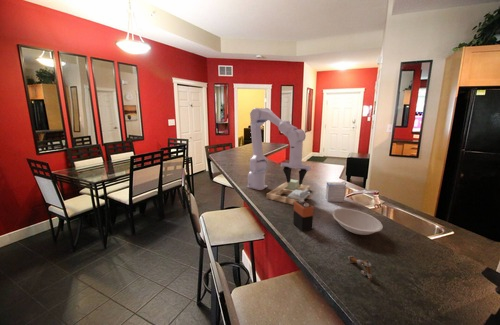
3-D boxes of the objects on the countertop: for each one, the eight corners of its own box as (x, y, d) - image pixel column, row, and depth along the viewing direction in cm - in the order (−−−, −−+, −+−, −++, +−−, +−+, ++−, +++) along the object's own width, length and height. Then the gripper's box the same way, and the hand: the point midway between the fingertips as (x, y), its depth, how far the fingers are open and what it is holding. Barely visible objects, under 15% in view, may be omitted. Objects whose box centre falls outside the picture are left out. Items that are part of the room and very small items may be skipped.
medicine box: (341, 199, 110) (343, 182, 108) (344, 202, 105) (346, 185, 103) (325, 198, 111) (326, 181, 109) (327, 201, 106) (328, 184, 104)
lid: (287, 197, 105) (287, 191, 104) (295, 190, 113) (295, 186, 112) (302, 200, 101) (303, 195, 100) (310, 193, 109) (310, 188, 108)
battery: (302, 221, 87) (303, 197, 85) (312, 229, 81) (314, 204, 79) (292, 223, 86) (293, 199, 83) (302, 232, 79) (303, 206, 77)
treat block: (287, 191, 120) (287, 181, 118) (290, 189, 123) (291, 179, 122) (295, 193, 117) (295, 182, 116) (298, 190, 121) (298, 180, 120)
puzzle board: (266, 198, 111) (266, 193, 110) (286, 185, 130) (286, 181, 129) (302, 206, 101) (302, 201, 100) (317, 191, 120) (318, 187, 119)
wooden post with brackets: (370, 281, 55) (367, 262, 56) (350, 272, 63) (347, 255, 64) (376, 280, 56) (373, 261, 56) (356, 271, 63) (353, 254, 64)
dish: (322, 223, 86) (323, 211, 84) (351, 217, 90) (352, 206, 89) (358, 249, 69) (360, 235, 68) (391, 240, 74) (393, 227, 73)
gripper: (278, 155, 105) (277, 182, 108) (307, 158, 97) (306, 188, 100) (284, 153, 110) (283, 179, 113) (313, 156, 103) (311, 184, 106)
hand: (294, 183), depth 107 cm, fingers open, 5 cm apart
